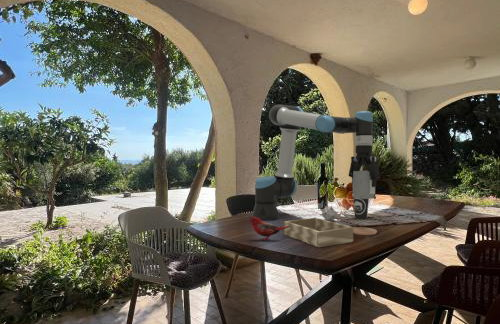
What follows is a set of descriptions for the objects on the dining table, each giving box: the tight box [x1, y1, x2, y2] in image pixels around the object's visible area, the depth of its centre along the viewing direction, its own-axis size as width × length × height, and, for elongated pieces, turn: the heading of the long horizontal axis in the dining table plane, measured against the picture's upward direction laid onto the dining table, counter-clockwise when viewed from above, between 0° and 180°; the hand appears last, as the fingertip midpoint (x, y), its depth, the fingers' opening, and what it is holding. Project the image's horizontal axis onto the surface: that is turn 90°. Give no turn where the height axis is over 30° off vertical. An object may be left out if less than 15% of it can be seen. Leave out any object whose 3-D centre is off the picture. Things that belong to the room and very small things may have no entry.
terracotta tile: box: [353, 226, 378, 236], centre depth 160 cm, size 12×12×1 cm
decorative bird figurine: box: [248, 217, 290, 241], centre depth 145 cm, size 3×18×10 cm, turn 84°
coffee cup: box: [351, 193, 370, 220], centre depth 194 cm, size 10×10×15 cm
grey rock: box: [319, 205, 339, 222], centre depth 186 cm, size 9×8×10 cm
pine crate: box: [283, 217, 354, 248], centre depth 149 cm, size 24×18×6 cm
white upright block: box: [352, 170, 375, 199], centre depth 159 cm, size 10×10×12 cm
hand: (363, 192), depth 159 cm, fingers closed on white upright block, 9 cm apart
